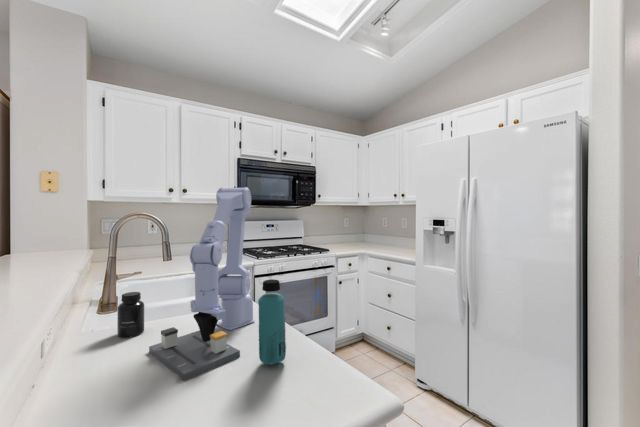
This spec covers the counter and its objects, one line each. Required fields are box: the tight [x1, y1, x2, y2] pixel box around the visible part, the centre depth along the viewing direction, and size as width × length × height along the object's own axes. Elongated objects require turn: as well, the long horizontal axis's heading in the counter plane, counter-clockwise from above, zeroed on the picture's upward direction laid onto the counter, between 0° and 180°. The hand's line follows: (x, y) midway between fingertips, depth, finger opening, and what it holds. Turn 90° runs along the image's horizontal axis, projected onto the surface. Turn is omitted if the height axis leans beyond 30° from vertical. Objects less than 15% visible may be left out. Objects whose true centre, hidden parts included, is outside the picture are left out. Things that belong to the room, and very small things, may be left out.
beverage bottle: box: [257, 279, 287, 365], centre depth 72 cm, size 6×7×20 cm
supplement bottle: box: [116, 291, 145, 339], centre depth 90 cm, size 7×7×12 cm
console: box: [148, 329, 241, 382], centre depth 77 cm, size 14×20×2 cm
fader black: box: [160, 327, 179, 349], centre depth 78 cm, size 3×3×4 cm
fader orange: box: [210, 330, 228, 354], centre depth 75 cm, size 3×3×4 cm
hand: (207, 340), depth 79 cm, fingers closed
